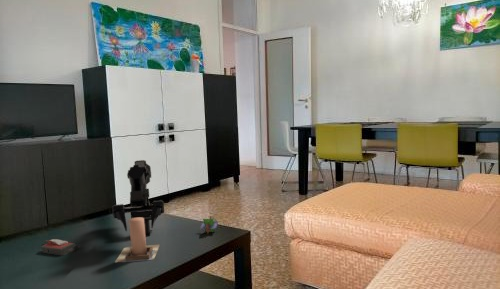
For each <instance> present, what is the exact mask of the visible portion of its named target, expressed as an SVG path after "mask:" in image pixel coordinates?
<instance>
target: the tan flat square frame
mask: <svg viewBox="0 0 500 289" xmlns="http://www.w3.org/2000/svg"><path fill="white" fill-rule="evenodd" d="M160 246H161V244H152V245H146V247H153V252H152V254H151V256H150V258H149V259H144V260H132V261H126V259H125V257H126V255H127V254H128V252H129V250H130V249H131V246H127V247H123V249H122V250H121V252H120V254H119V255H118V257H117V258H116V260H115V261H114V263H131V262H143V261H152V260H155V259H156V258H155V257H156V255H157V253H158V251H159V249H160V248H159V247H160ZM147 254H148V252H147ZM131 256H132V254H131Z"/></svg>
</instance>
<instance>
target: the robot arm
mask: <svg viewBox="0 0 500 289" xmlns="http://www.w3.org/2000/svg"><path fill="white" fill-rule="evenodd" d="M126 176H127V179H128V180H129V184H130V189H131V190H130V192H129V204H130V206H128V207H125V206H124V204H121V203H120V204H114V205H113V206H112V207H111V212H112V216H113V219H117V220H118V221H120V222H121V223H122V226H123V228H124V230H125V232H128V226H127V225H128V224H127V219H126V214H129V213H130V217H131V218H130V219H132V218H136V217H143V218H144V224H145V236H146V237H149V236H151V234H152V233H153V229H154V226H155V223H156V221H157V219H158V218H159V216H161V215H162V214H164V213H165V203H164V202H165V201H163V200H162V199H161V200H153V201H152V204H150V200H149V198H150V189H149V188H147V185H148V184H149V183H150V182H151V178H152V170H151V166H150V165H149V164H148V163H147V160H144V159H140V160H135V161H134V164H133V166H130V167H129V169H128V170H127V174H126ZM150 221H151V222H150ZM150 224H151V225H150Z"/></svg>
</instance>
